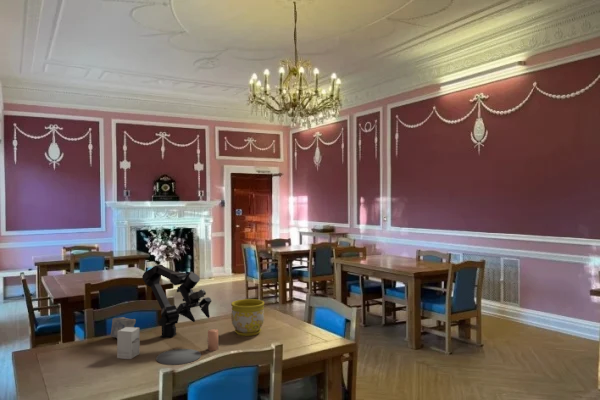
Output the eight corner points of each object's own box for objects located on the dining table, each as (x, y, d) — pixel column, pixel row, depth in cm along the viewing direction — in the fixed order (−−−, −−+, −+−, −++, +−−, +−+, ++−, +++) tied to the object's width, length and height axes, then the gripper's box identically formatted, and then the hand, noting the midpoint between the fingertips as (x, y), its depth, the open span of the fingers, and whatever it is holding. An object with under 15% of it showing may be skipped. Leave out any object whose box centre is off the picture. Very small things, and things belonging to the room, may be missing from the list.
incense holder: (136, 336, 243) (136, 317, 243) (124, 341, 235) (123, 321, 235) (122, 334, 247) (122, 315, 247) (110, 338, 240) (110, 318, 240)
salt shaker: (206, 350, 221) (206, 331, 221) (210, 347, 226) (210, 328, 226) (216, 351, 220) (216, 332, 220) (219, 347, 225) (219, 329, 225)
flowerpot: (271, 331, 252) (271, 301, 252) (250, 339, 237) (250, 308, 237) (245, 326, 262) (245, 297, 262) (224, 334, 247) (224, 303, 247)
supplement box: (131, 359, 209) (131, 331, 209) (116, 358, 210) (116, 330, 210) (140, 354, 216) (140, 327, 216) (125, 352, 218) (125, 326, 218)
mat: (148, 363, 204) (148, 362, 204) (168, 348, 224) (168, 347, 224) (190, 366, 200) (190, 365, 200) (207, 351, 220) (207, 350, 220)
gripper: (180, 287, 223) (194, 314, 217) (209, 281, 238) (223, 306, 231) (169, 300, 228) (183, 327, 222) (199, 294, 243) (213, 319, 236)
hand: (201, 319), depth 228 cm, fingers open, 9 cm apart
